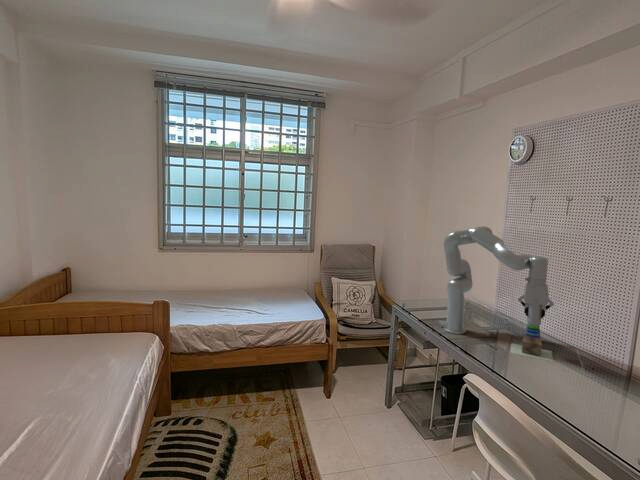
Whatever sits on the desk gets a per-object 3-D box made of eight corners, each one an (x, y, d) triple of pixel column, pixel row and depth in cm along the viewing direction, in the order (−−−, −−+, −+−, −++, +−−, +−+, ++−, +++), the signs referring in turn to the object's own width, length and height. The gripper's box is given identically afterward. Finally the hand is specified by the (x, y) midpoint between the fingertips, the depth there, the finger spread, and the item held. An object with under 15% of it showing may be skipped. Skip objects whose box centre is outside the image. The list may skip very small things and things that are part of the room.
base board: (510, 354, 173) (510, 352, 172) (511, 345, 184) (511, 343, 184) (553, 363, 163) (553, 361, 163) (551, 353, 175) (551, 350, 174)
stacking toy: (536, 339, 192) (538, 307, 190) (543, 345, 184) (546, 311, 182) (521, 338, 193) (524, 306, 191) (528, 344, 185) (531, 311, 183)
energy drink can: (527, 321, 176) (529, 293, 174) (541, 324, 172) (543, 295, 170) (525, 324, 171) (528, 296, 169) (539, 327, 167) (542, 298, 166)
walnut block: (521, 352, 172) (522, 341, 171) (522, 346, 179) (522, 336, 178) (540, 356, 168) (541, 345, 167) (540, 350, 175) (541, 339, 174)
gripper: (517, 280, 170) (514, 315, 172) (558, 285, 161) (555, 321, 164) (517, 277, 177) (514, 311, 179) (557, 282, 168) (554, 317, 170)
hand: (534, 315), depth 171 cm, fingers closed on energy drink can, 6 cm apart
